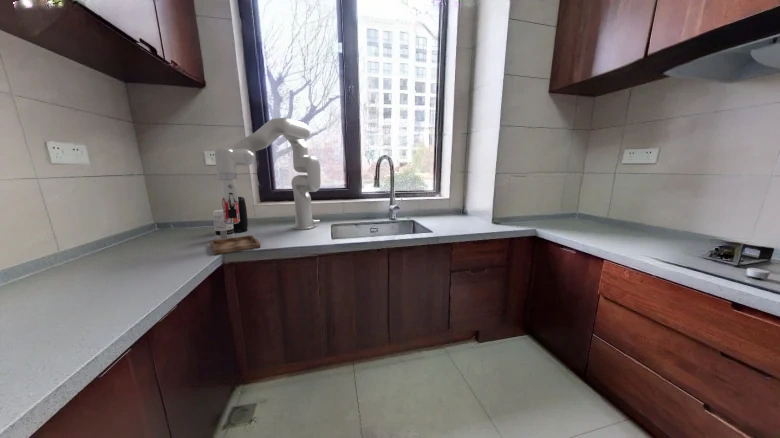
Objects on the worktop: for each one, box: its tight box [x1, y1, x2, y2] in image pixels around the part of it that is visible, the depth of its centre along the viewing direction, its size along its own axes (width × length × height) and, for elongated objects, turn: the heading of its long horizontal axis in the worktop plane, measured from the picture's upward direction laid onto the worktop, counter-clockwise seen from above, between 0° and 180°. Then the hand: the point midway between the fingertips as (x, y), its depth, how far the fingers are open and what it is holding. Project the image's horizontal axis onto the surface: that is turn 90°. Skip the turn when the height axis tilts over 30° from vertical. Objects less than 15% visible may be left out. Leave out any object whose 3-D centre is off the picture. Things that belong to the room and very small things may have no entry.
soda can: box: [221, 197, 240, 224], centre depth 123 cm, size 6×6×12 cm
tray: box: [209, 234, 262, 256], centre depth 126 cm, size 18×18×2 cm
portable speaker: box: [233, 196, 249, 234], centre depth 154 cm, size 9×9×20 cm
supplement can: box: [212, 209, 236, 240], centre depth 137 cm, size 8×8×15 cm
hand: (231, 216), depth 124 cm, fingers closed on soda can, 5 cm apart
